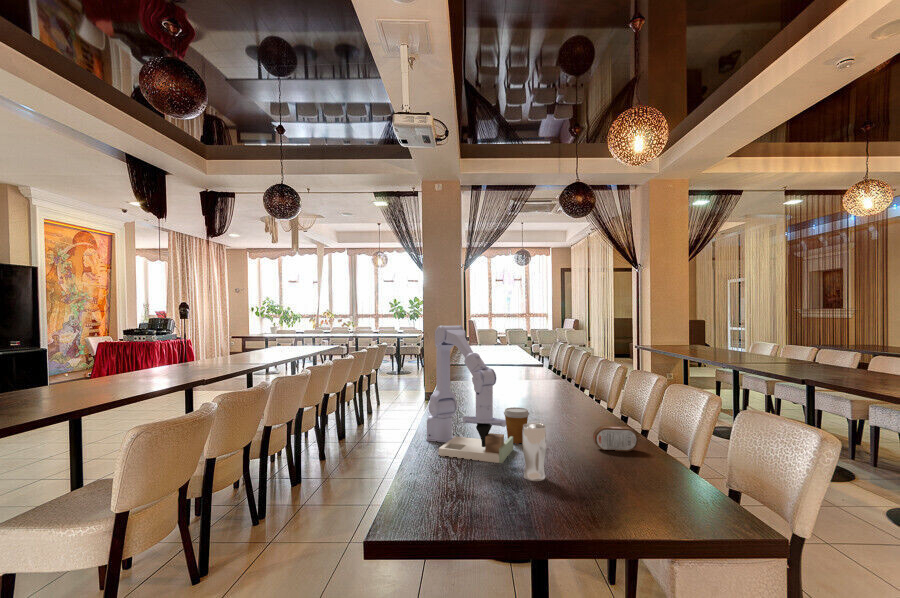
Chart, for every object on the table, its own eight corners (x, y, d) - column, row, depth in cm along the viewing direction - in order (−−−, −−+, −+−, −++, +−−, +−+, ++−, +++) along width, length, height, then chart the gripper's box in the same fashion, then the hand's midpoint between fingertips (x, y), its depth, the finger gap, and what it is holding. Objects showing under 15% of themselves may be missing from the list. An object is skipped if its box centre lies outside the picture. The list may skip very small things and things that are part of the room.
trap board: (438, 455, 152) (438, 442, 152) (454, 443, 167) (454, 431, 167) (502, 463, 144) (502, 449, 144) (513, 449, 159) (513, 436, 159)
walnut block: (485, 452, 148) (485, 436, 148) (489, 447, 153) (489, 433, 153) (500, 453, 146) (500, 438, 146) (503, 449, 151) (503, 434, 151)
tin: (636, 449, 159) (636, 425, 160) (639, 452, 156) (639, 428, 156) (593, 448, 161) (592, 424, 161) (594, 451, 158) (594, 427, 158)
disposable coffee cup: (531, 445, 164) (531, 412, 165) (505, 445, 164) (505, 412, 165) (527, 438, 174) (527, 407, 174) (502, 438, 174) (502, 407, 174)
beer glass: (546, 482, 128) (546, 429, 128) (521, 481, 129) (521, 428, 129) (546, 474, 134) (546, 423, 135) (522, 472, 136) (522, 422, 136)
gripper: (459, 406, 150) (459, 447, 150) (502, 409, 145) (502, 452, 144) (466, 402, 157) (466, 441, 156) (507, 405, 151) (507, 446, 151)
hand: (484, 446), depth 151 cm, fingers closed
